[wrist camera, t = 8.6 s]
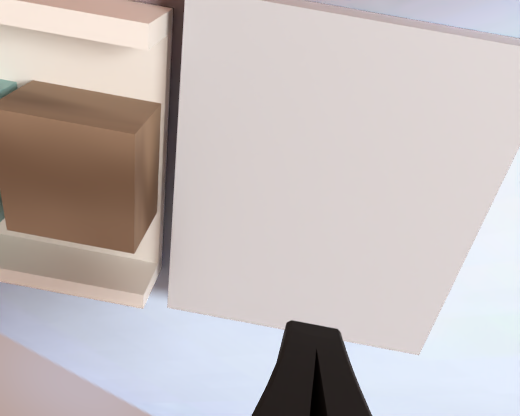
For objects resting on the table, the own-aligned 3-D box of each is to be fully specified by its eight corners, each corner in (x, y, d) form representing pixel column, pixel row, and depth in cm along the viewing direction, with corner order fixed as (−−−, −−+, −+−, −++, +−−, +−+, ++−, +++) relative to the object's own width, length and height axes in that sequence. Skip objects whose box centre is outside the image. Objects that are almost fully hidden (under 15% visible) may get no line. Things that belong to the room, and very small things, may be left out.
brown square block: (157, 212, 21) (134, 253, 18) (45, 191, 21) (6, 230, 18) (161, 103, 18) (134, 134, 16) (32, 80, 18) (-15, 106, 16)
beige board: (413, 331, 24) (418, 355, 22) (175, 286, 24) (167, 307, 23) (545, 42, 16) (563, 54, 15) (196, -19, 16) (185, -14, 15)
